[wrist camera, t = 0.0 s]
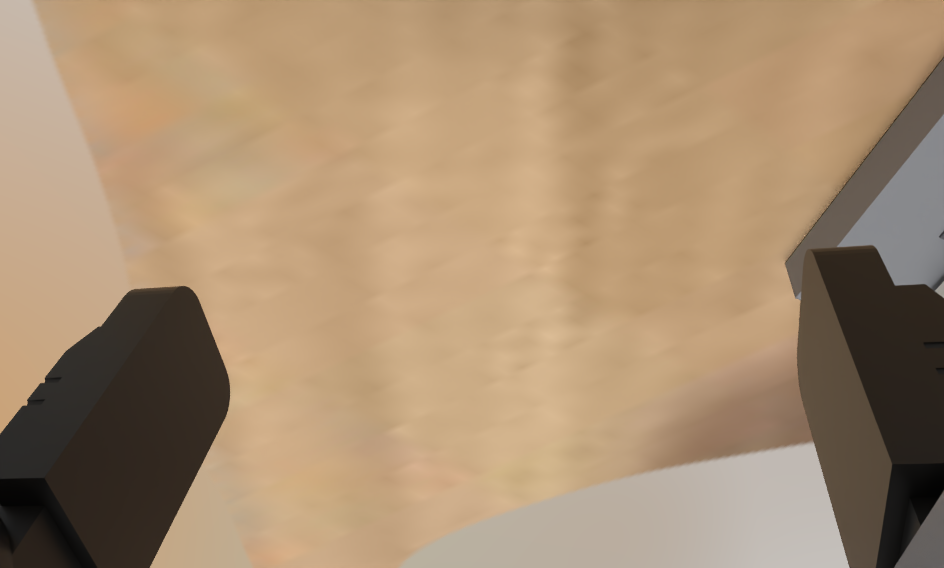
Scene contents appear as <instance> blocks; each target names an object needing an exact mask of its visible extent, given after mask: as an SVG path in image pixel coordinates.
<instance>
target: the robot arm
mask: <svg viewBox="0 0 944 568" xmlns="http://www.w3.org/2000/svg"><path fill="white" fill-rule="evenodd" d="M797 366H798V379H799V387H800V393H801V398H802V401H803V405H804V409H805V412H806V416H807V419H808V423H809V426H810V430H811V433H812V437H813V440H814V444H815V447H816V451H817V455H818V458H819V461H820V465H821V469H822V472H823V476H824V479H825V483H826V486H827V490H828V493H829V497H830V500H831V503H832V507H833V511H834V514H835V518H836V522H837V525H838V529H839V532H840V536H841V539H842V543H843V546H844V550H845V553H846V556H847V560H848V564H849V567H850V568H944V298H943V297H942V296H941V295H939V294H938V293H936V292H935V291H934V290H932V289H931V288H930V287H928V286H927V285H926V284H915V285H897V286H895V284H894V282H893V280H892V278H891V276H890V274H889V272H888V270H887V268H886V266H885V264H884V262H883V260H882V258H881V256H880V254H879V252H878V250H877V248H876V247H875V246H873V245H865V246H848V247H832V248H816V249H808V250H807V251H806V253H805V257H804V262H803V274H802V289H801V303H800V318H799V332H798V347H797ZM27 401H28V404H27V406H22V407H21V409H20V410H19V411H18V412H17V413H16V415H15V416H14V417H13V419H12V420H11V421H10V422H9V424H8V425H7V426H6V427H5V429H4V430H3V431H2V433H1V434H0V568H150V566H151V564H152V562H153V560H154V558H155V556H156V554H157V552H158V550H159V548H160V546H161V544H162V542H163V540H164V538H165V536H166V534H167V532H168V530H169V528H170V526H171V524H172V522H173V520H174V518H175V516H176V514H177V512H178V510H179V508H180V506H181V504H182V502H183V500H184V498H185V496H186V494H187V492H188V490H189V488H190V487H191V484H192V482H193V481H194V479H195V477H196V475H197V473H198V470H199V469H200V467H201V465H202V463H203V461H204V459H205V457H206V455H207V453H208V451H209V449H210V447H211V445H212V443H213V441H214V439H215V437H216V435H217V433H218V431H219V429H220V427H221V425H222V423H223V421H224V419H225V417H226V415H227V411H228V407H229V401H230V384H229V378H228V374H227V371H226V368H225V365H224V363H223V360H222V358H221V355H220V353H219V350H218V348H217V345H216V343H215V340H214V337H213V335H212V332H211V330H210V327H209V325H208V322H207V320H206V317H205V315H204V312H203V309H202V307H201V304H200V302H199V300H198V298H197V296H196V294H195V293H194V292H193V291H192V290H191V289H190V288H189V287H186V286H178V287H162V288H146V289H134V290H131V291H129V292H128V293H127V294H126V295H125V296H124V297H123V299H122V300H121V302H120V303H119V304H118V305H117V307H116V308H115V309H114V311H113V312H112V313H111V314H110V316H109V317H108V318H107V320H106V321H105V322H104V324H103V325H102V326H101V327H97V328H96V329H95V330H93V331H92V332H91V333H89V334H88V335H87V336H85V337H84V338H83V339H81V340H80V341H79V342H77V343H76V344H75V345H74V346H72V347H71V348H70V349H68V350H67V351H66V352H65V353H64V354H63V355H62V357H61V358H60V359H59V361H58V362H57V363H56V364H55V366H54V367H53V368H52V369H51V371H50V372H49V373H48V375H47V376H46V377H45V383H40V384H39V386H38V387H37V388H36V390H35V391H34V392H33V393H32V395H31V396H30V397H29V398H28V400H27Z"/></svg>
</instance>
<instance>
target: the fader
mask: <svg viewBox="0 0 944 568" xmlns="http://www.w3.org/2000/svg"><path fill="white" fill-rule="evenodd" d="M935 292H936V293H938V294H939V295H941V296H942V297H943V298H944V282H943V283H942V284H941V285H940V286H939V287H938V288H937V289H936V290H935Z"/></svg>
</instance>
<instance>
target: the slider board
mask: <svg viewBox="0 0 944 568" xmlns="http://www.w3.org/2000/svg"><path fill="white" fill-rule="evenodd" d="M865 245H873V246H875V247H876V248H877V250H878V252H879V254H880V256H881V258H882V260H883V262H884V264H885V266H886V268H887V270H888V272H889V274H890V276H891V278H892V280H893V282H894V284H895V286H897V285H915V284H926V285H927V286H928V287H930V288H931V289H932V290H934V291H935V290H936V289H937V288H938V287H939V286H940V285H941V284H942V283H943V282H944V58H943V59H942V61H941V62H940V63H939V65H938V66H937V67H936V68H935V70H934V71H933V72H932V74H931V75H930V76H929V78H928V79H927V80H926V81H925V83H924V84H923V85H922V87H921V88H920V89H919V90H918V92H917V93H916V94H915V96H914V97H913V98H912V100H911V101H910V102H909V103H908V105H907V106H906V107H905V109H904V110H903V111H902V113H901V114H900V115H899V116H898V118H897V119H896V120H895V122H894V123H893V124H892V126H891V127H890V128H889V129H888V131H887V132H886V133H885V135H884V136H883V137H882V138H881V140H880V141H879V142H878V144H877V145H876V146H875V148H874V149H873V150H872V151H871V153H870V154H869V155H868V157H867V158H866V159H865V161H864V162H863V163H862V164H861V166H860V167H859V168H858V170H857V171H856V172H855V174H854V175H853V176H852V177H851V179H850V180H849V181H848V183H847V184H846V185H845V186H844V188H843V189H842V190H841V192H840V193H839V194H838V196H837V197H836V198H835V199H834V201H833V202H832V203H831V205H830V206H829V207H828V209H827V210H826V211H825V212H824V214H823V215H822V216H821V218H820V219H819V220H818V222H817V223H816V224H815V225H814V227H813V228H812V229H811V231H810V232H809V233H808V234H807V236H806V237H805V238H804V240H803V241H802V242H801V244H800V245H799V246H798V247H797V249H796V250H795V251H794V253H793V254H792V255H791V257H790V258H789V259H788V260H787V262H786V263H785V265H786V268H787V272H788V275H789V278H790V282H791V285H792V288H793V292H794V295H795V298H796V299H799V300H801V289H802V274H803V262H804V257H805V253H806V251H807V250H808V249H816V248H832V247H848V246H865Z"/></svg>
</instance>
